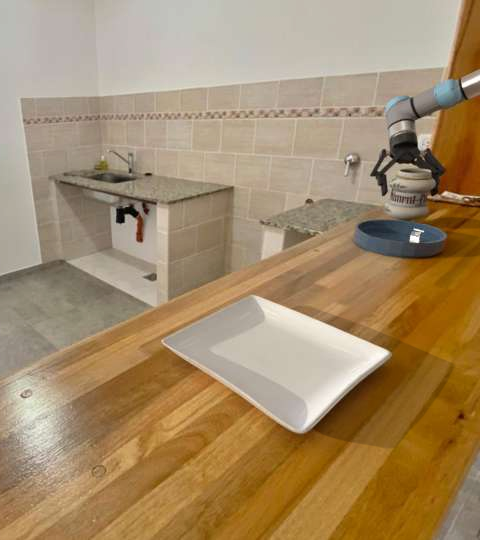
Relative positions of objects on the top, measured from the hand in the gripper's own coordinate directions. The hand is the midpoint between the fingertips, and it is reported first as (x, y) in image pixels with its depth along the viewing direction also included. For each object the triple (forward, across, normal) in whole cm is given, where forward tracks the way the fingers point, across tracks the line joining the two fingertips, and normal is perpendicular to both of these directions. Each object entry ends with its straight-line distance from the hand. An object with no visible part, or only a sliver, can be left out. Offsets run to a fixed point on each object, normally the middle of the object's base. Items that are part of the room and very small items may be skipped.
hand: (409, 194), depth 120 cm
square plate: (+64, +47, +49) cm, 94 cm away
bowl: (+20, +8, +5) cm, 22 cm away
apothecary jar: (+7, 0, -8) cm, 11 cm away
